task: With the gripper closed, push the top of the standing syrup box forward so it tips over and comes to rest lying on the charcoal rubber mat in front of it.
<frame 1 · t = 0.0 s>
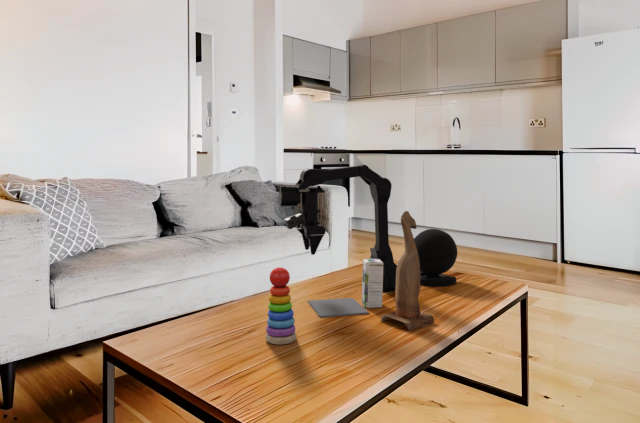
hand: (309, 252, 167), 15 cm above the table, tool pointing down, fingers open, 9 cm apart
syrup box: (372, 305, 156), on the table
stacking toy: (281, 340, 126), on the table
bird sculpture: (407, 323, 140), on the table
webcam: (432, 281, 187), on the table
mat: (337, 307, 153), on the table
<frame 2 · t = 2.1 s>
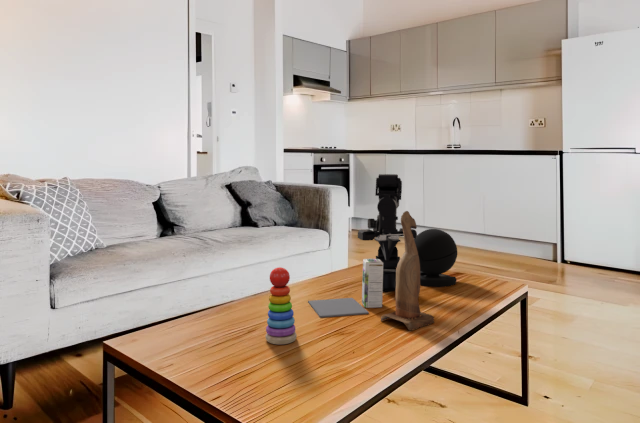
hand: (386, 260, 162), 13 cm above the table, tool pointing down, fingers closed
nothing on the table moved.
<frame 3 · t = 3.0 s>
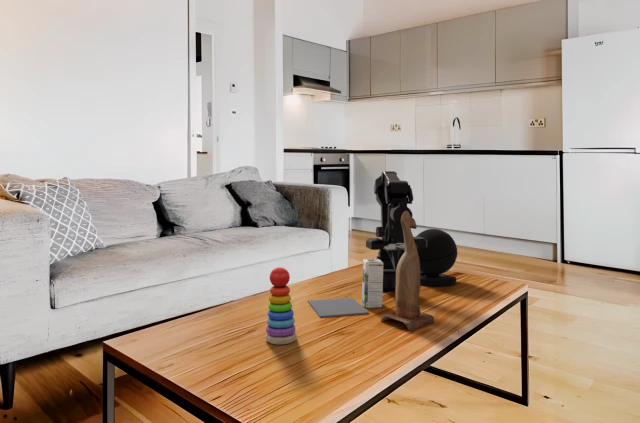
hand: (396, 269, 157), 11 cm above the table, tool pointing down, fingers closed
nothing on the table moved.
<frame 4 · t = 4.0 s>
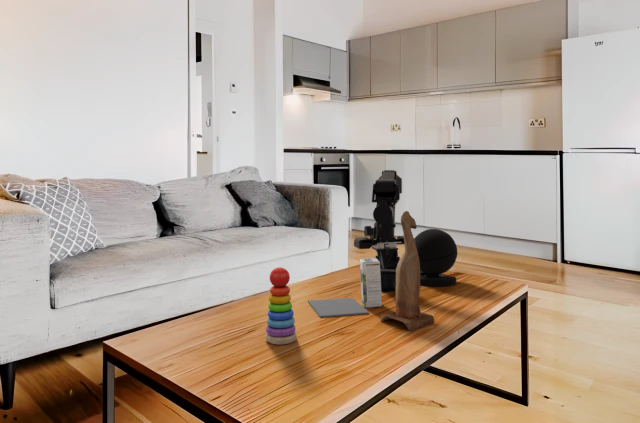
hand: (384, 269, 156), 11 cm above the table, tool pointing down, fingers closed
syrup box: (372, 305, 156), on the table, touching gripper
everything else where it was.
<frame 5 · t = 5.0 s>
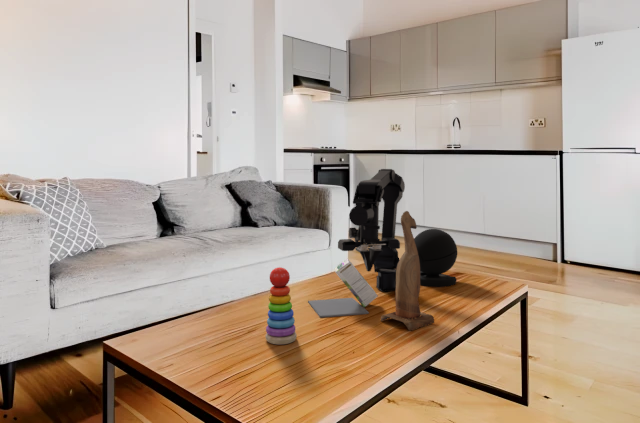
hand: (368, 271, 154), 11 cm above the table, tool pointing down, fingers closed
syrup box: (370, 299, 156), point 2 cm above the table
everything else where it was.
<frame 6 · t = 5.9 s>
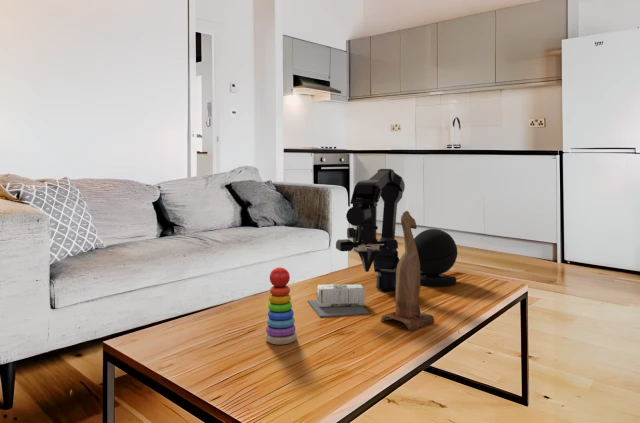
hand: (366, 271, 154), 11 cm above the table, tool pointing down, fingers closed
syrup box: (364, 294, 155), point 3 cm above the table, touching mat
everything else where it was.
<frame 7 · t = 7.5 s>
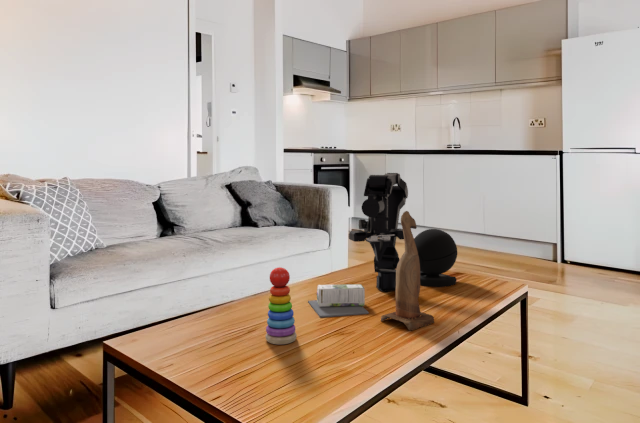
hand: (378, 260, 161), 13 cm above the table, tool pointing down, fingers closed
nothing on the table moved.
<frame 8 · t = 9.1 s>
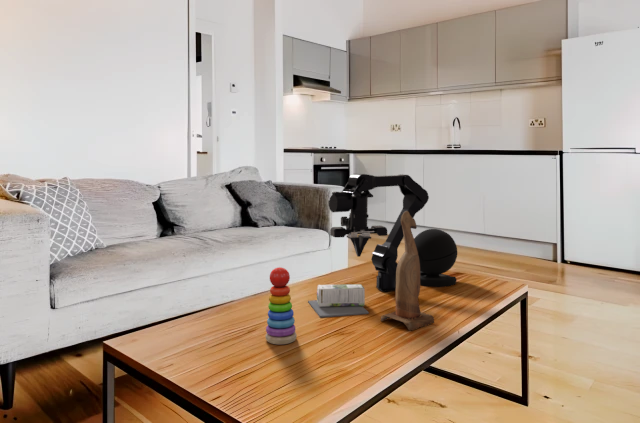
hand: (358, 256, 168), 13 cm above the table, tool pointing down, fingers closed
nothing on the table moved.
at the end: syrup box tilted 90°; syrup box touching mat; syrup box 9.0 cm from the mat (horizontally) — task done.
